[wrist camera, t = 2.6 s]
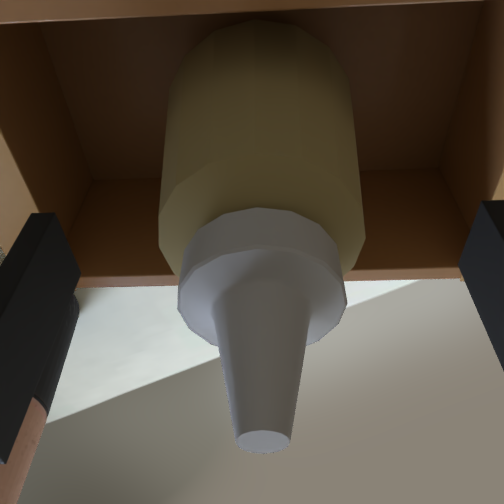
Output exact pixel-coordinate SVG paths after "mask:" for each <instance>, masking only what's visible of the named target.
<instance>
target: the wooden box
mask: <svg viewBox="0 0 504 504" xmlns="http://www.w3.org/2000/svg"><path fill="white" fill-rule="evenodd" d="M254 19H256V20H263V21H270V22H277V23H284V24H291V25H296V26H297V27H299V28H301V29H302V30H304V31H305V32H307V33H308V34H310V35H312V36H313V37H315V38H316V39H318V40H319V41H321V42H322V43H324V44H326V45H327V46H329V48H330V49H331V51H332V52H333V54H334V56H335V57H336V59H337V60H338V62H339V63H340V65H341V67H342V68H343V70H344V71H345V73H346V75H347V76H348V78H349V85H350V93H351V101H352V109H353V118H354V128H355V138H356V147H357V157H358V167H359V177H360V187H361V196H362V206H363V216H364V226H365V236H366V239H365V241H364V244H363V246H362V249H361V251H360V253H359V256H358V258H357V261H356V263H355V265H354V267H353V268H352V269H351V270H350V271H349V272H348V273H347V274H346V275H344V276H343V281H376V280H416V279H455V278H460V281H464V278H463V276H462V274H461V272H460V269H459V267H458V263H459V260H460V257H461V254H462V252H463V249H464V246H465V244H466V241H467V238H468V235H469V233H470V230H471V227H472V225H473V222H474V219H475V216H476V214H477V211H478V208H479V206H480V203H481V200H504V0H0V247H1V249H2V250H3V252H4V254H5V256H7V254H8V252H9V250H10V249H11V247H12V245H13V243H14V242H15V240H16V238H17V237H18V235H19V233H20V231H21V230H22V228H23V226H24V225H25V223H26V221H27V219H28V218H29V216H30V214H31V213H50V212H55V213H56V216H57V218H58V220H59V223H60V225H61V227H62V229H63V232H64V234H65V236H66V239H67V241H68V243H69V245H70V248H71V250H72V252H73V255H74V257H75V259H76V261H77V264H78V266H79V268H80V271H81V276H80V278H79V281H78V284H77V286H76V288H96V287H136V286H176V285H179V279H180V278H179V277H178V276H176V275H175V274H174V273H173V271H172V269H171V268H170V266H169V264H168V262H167V260H166V259H165V257H164V255H163V253H162V252H161V250H160V248H159V219H158V216H159V204H160V192H161V180H162V169H163V157H164V145H165V133H166V121H167V110H168V98H169V88H170V86H171V84H172V82H173V80H174V78H175V75H176V73H177V71H178V69H179V67H180V65H181V63H182V60H183V58H184V56H185V55H186V54H187V53H189V52H190V51H191V50H192V49H193V48H195V47H196V46H197V45H198V44H199V43H200V42H202V41H203V40H204V39H205V38H206V37H208V36H209V35H210V34H211V33H212V32H214V31H215V30H218V29H222V28H225V27H229V26H232V25H236V24H239V23H243V22H246V21H250V20H254ZM76 290H77V289H75V291H76Z"/></svg>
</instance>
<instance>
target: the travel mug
mask: <svg viewBox="0 0 504 504" xmlns="http://www.w3.org/2000/svg"><path fill="white" fill-rule="evenodd" d="M78 316H79V304H78V301H77V299H76V298H75V296H74V295H73V296H72V299H71V301H70V304H69V306H68V309H67V311H66V314H65V316H64V319H63V321H62V324H61V327H60V329H59V332H58V334H57V337H56V339H55V342H54V344H53V347H52V349H51V352H50V354H49V357H48V359H47V362H46V365H45V367H44V370H43V372H42V375H41V377H40V380H39V382H38V385H37V387H36V390H35V392H34V395H33V397H32V400H31V402H30V405H29V408H28V410H27V413H26V415H25V418H24V420H23V423H22V425H21V428H20V430H19V433H18V435H17V438H16V440H15V443H14V446H13V448H12V451H11V453H10V456H9V458H8V461H7V463H6V464H0V504H17V501H18V499H19V496H20V493H21V490H22V487H23V484H24V482H25V479H26V476H27V473H28V471H29V468H30V465H31V462H32V459H33V457H34V453H35V451H36V448H37V445H38V443H39V440H40V437H41V434H42V431H43V429H44V426H45V423H46V419H47V416H48V414H49V411H50V407H51V404H52V401H53V398H54V395H55V391H56V388H57V385H58V382H59V378H60V375H61V372H62V369H63V366H64V362H65V359H66V356H67V353H68V349H69V346H70V343H71V340H72V337H73V333H74V330H75V327H76V323H77V320H78Z"/></svg>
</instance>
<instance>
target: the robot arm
mask: <svg viewBox="0 0 504 504" xmlns="http://www.w3.org/2000/svg"><path fill="white" fill-rule="evenodd" d="M458 267H459V269H460V272H461V274H462V276H463V278H464V281H465V283H466V285H467V288H468V290H469V292H470V295H471V297H472V299H473V301H474V304H475V306H476V308H477V311H478V313H479V315H480V318H481V320H482V322H483V324H484V327H485V329H486V331H487V334H488V336H489V338H490V341H491V343H492V345H493V348H494V350H495V352H496V354H497V357H498V359H499V361H500V363H501V366H502V368H503V370H504V200H481V203H480V206H479V208H478V211H477V214H476V216H475V219H474V222H473V225H472V227H471V230H470V233H469V235H468V238H467V241H466V244H465V246H464V249H463V252H462V254H461V257H460V260H459V263H458ZM80 276H81V271H80V268H79V266H78V264H77V261H76V259H75V257H74V255H73V252H72V250H71V248H70V245H69V243H68V241H67V239H66V236H65V234H64V232H63V229H62V227H61V225H60V223H59V220H58V218H57V216H56V213H55V212H50V213H31V214H30V216H29V218H28V219H27V221H26V223H25V225H24V226H23V228H22V230H21V231H20V233H19V235H18V237H17V238H16V240H15V242H14V243H13V245H12V247H11V249H10V250H9V252H8V254H7V256H6V257H5V259H4V261H3V262H2V264H1V266H0V464H6V463H7V461H8V458H9V456H10V453H11V451H12V448H13V446H14V443H15V440H16V438H17V435H18V433H19V430H20V428H21V425H22V423H23V420H24V418H25V415H26V413H27V410H28V408H29V405H30V402H31V400H32V397H33V395H34V392H35V390H36V387H37V385H38V382H39V380H40V377H41V375H42V372H43V370H44V367H45V365H46V362H47V359H48V357H49V354H50V352H51V349H52V347H53V344H54V342H55V339H56V337H57V334H58V332H59V329H60V327H61V324H62V321H63V319H64V316H65V314H66V311H67V309H68V306H69V304H70V301H71V299H72V296H73V294H74V291H75V289H76V286H77V284H78V281H79V278H80Z"/></svg>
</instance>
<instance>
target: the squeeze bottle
mask: <svg viewBox="0 0 504 504" xmlns="http://www.w3.org/2000/svg"><path fill="white" fill-rule="evenodd" d="M158 219H159V248H160V250H161V252H162V253H163V255H164V257H165V259H166V260H167V262H168V264H169V266H170V268H171V269H172V271H173V273H174V274H175V275H176V276H178V277H179V278H180V279H179V285H178V307H177V309H178V311H179V313H180V314H181V316H182V318H183V319H184V321H185V323H186V324H187V326H188V328H189V329H190V330H191V331H193V332H194V333H196V334H197V335H199V336H200V337H201V338H203V339H204V340H206V341H207V342H208V343H210V344H212V345H215V346H218V347H219V353H220V358H221V364H222V369H223V375H224V380H225V386H226V392H227V397H228V403H229V408H230V414H231V419H232V424H233V430H234V436H235V441H236V444H237V445H238V447H239V448H241V449H243V450H245V451H248V452H252V453H263V454H265V453H274V452H278V451H281V450H283V449H285V448H286V447H288V445H289V443H290V439H291V433H292V426H293V421H294V415H295V409H296V402H297V396H298V390H299V384H300V378H301V372H302V366H303V359H304V353H305V347H306V346H307V345H310V344H312V343H315V342H317V341H319V340H320V339H321V338H322V337H324V336H325V335H326V334H327V333H328V332H329V331H331V330H332V329H333V328H334V327H335V326H336V325H338V324H339V321H340V319H341V317H342V315H343V312H344V310H345V308H346V305H347V298H346V292H345V287H344V281H343V276H344V275H346V274H347V273H348V272H349V271H350V270H351V269H352V268H353V267H354V265H355V263H356V261H357V258H358V256H359V253H360V251H361V249H362V246H363V244H364V241H365V239H366V236H365V226H364V216H363V206H362V196H361V187H360V177H359V167H358V157H357V147H356V138H355V128H354V118H353V109H352V101H351V93H350V85H349V78H348V76H347V75H346V73H345V71H344V70H343V68H342V67H341V65H340V63H339V62H338V60H337V59H336V57H335V56H334V54H333V52H332V51H331V49H330V48H329V46H327V45H326V44H324V43H322V42H321V41H319V40H318V39H316V38H315V37H313V36H312V35H310V34H308V33H307V32H305V31H304V30H302V29H301V28H299V27H297V26H296V25H291V24H284V23H277V22H270V21H263V20H256V19H254V20H250V21H246V22H243V23H239V24H236V25H232V26H229V27H225V28H222V29H218V30H215V31H214V32H212V33H211V34H210V35H209V36H208V37H206V38H205V39H204V40H203V41H202V42H200V43H199V44H198V45H197V46H196V47H195V48H193V49H192V50H191V51H190V52H189V53H187V54H186V55H185V56H184V58H183V60H182V63H181V65H180V67H179V69H178V71H177V73H176V75H175V78H174V80H173V82H172V84H171V86H170V88H169V98H168V110H167V121H166V133H165V145H164V157H163V169H162V180H161V192H160V204H159V216H158Z"/></svg>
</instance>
